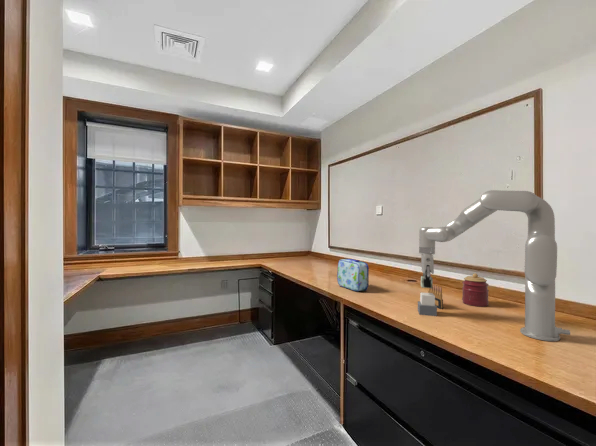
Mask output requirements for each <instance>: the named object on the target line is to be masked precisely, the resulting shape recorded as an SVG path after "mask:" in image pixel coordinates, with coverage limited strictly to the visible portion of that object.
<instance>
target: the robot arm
mask: <svg viewBox="0 0 596 446" xmlns="http://www.w3.org/2000/svg"><path fill="white" fill-rule="evenodd" d="M497 211H504V212H505V211H507V212H520V213H523V214H525V215H526V217H527V239H526V241H525V246H524V247H525V249H524V270H523V271H524V278H525V279H524V282H525V283H524V285H525V287H524V327H521V328H520V330H519V331H520V333H521V334H522V335H524V336H526V337H529V338H532V339H535V340H539V341H544V342H545V341H546V342H558V341H560V340H561V335H566V336H570V335H571V331H570V329H563V328H562V327H557V326H556V278H557V272H558V271H557V269H558V268H557V267H558V244H557V241H556V235H555V234H556V224H555V223H556V221H555V220H556V219H555V213H554V209H553V207H552V206H551V205H550V204H549V203H548V201H547V200H545V199H543V198H542V197H540V196H538V195H537V194H535V193H533V192H531V191H528V190H498V189H497V190H496V189H490V190H487V191H485V192H483V193H482V194H481V196H480V197H479V198H478V199H477V200H476V201H475V202H473V203H471V204H470V205H468V206H467V207H466V208H464V209H463V210H461V212H460V213H459V215H458V216H457V217H456V218H455V219H454V220H453V221H451V222H450V223H448V224H447V225H445V226H439V227H432V226H421V227H420V228H419V233H418V236H419V238H418V240H419V241H418V243H419V244H418V246H419V247H418V254H420V255H421V260H420V261H421V262H420V263H421V264H420V265H421V271H422V276H424V277H425V279H424V287H429V288H430V287H431V277H432V276H431V275H433V274H434V273H435V272H434V267H435V266H434V264H435V263H434V255H436V242H438V243H446V242H447V243H448V242H451V241H452V240H454V239H456V238H457V237H459V236H460V235H461V234H463V233H465V232H466V231H468V230H469V229H471V228H472V227H474V226H475V225H478V223H480V222H481V221H483V220H485V219H486V218H487V217H489V216H490V215H492V214H494V213H495V212H497ZM429 288H428V289H429Z"/></svg>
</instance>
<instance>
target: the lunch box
mask: <svg viewBox="0 0 596 446" xmlns="http://www.w3.org/2000/svg"><path fill="white" fill-rule="evenodd" d="M369 269H370V268H369V264H368V263H367V262H364V261H361V260H360V259H359V260H358V259H352V258H344V259H343V258H342V259H339V260H338V263H337V275H336V277H337V278H336V279H337V284H338V286H339V287H341V288H345V289H348V290H352V291H353V292H359V291H360V292H361V291H362V292H363V291H367V290H368V288H369V284H370V283H369V282H370V281H369V278H370V277H369V276H370V275H369Z"/></svg>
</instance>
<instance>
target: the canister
mask: <svg viewBox="0 0 596 446" xmlns="http://www.w3.org/2000/svg"><path fill="white" fill-rule="evenodd" d="M463 279H464V280H463V281H462V288H461V289H462V297H461V298H462V299H461V300H462V303H463V304H465V305H467V306H472V307H487V306H489V289H488V287H489V283H487V281H488V280H487V278H484V277H482V276H479V274H478V273H476V272H475V273H473V274H472V275H468V276H465V277H464V278H463Z"/></svg>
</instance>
